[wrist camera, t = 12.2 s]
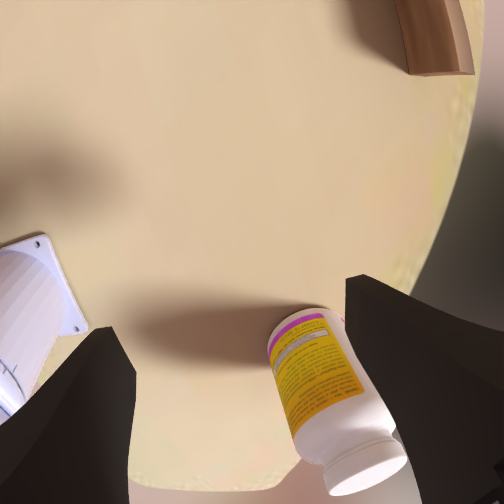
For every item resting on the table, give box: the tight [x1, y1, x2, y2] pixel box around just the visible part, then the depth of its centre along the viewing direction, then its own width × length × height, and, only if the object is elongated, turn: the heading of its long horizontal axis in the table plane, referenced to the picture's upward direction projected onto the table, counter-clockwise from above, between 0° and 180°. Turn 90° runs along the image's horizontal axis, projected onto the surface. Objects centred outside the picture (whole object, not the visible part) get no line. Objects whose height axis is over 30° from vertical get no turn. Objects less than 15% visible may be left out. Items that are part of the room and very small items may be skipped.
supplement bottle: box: [267, 308, 407, 496], centre depth 17 cm, size 7×7×13 cm
